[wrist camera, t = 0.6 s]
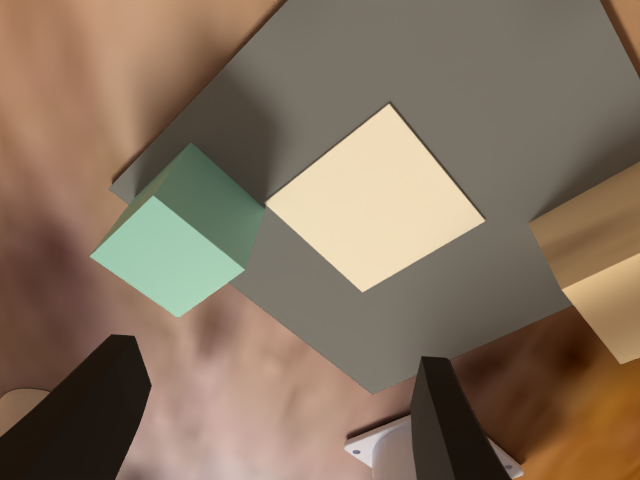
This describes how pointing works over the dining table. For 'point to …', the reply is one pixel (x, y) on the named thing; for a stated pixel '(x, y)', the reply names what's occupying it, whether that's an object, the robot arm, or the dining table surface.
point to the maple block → (600, 258)
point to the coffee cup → (18, 406)
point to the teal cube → (183, 233)
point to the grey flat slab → (409, 165)
